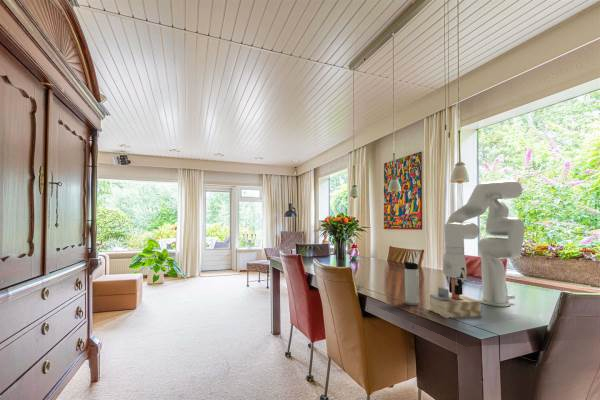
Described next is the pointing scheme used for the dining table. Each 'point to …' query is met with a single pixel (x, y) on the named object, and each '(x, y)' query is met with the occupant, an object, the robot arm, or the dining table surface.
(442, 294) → the keeper
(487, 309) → the dining table surface
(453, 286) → the pin
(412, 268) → the travel mug
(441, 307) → the block
